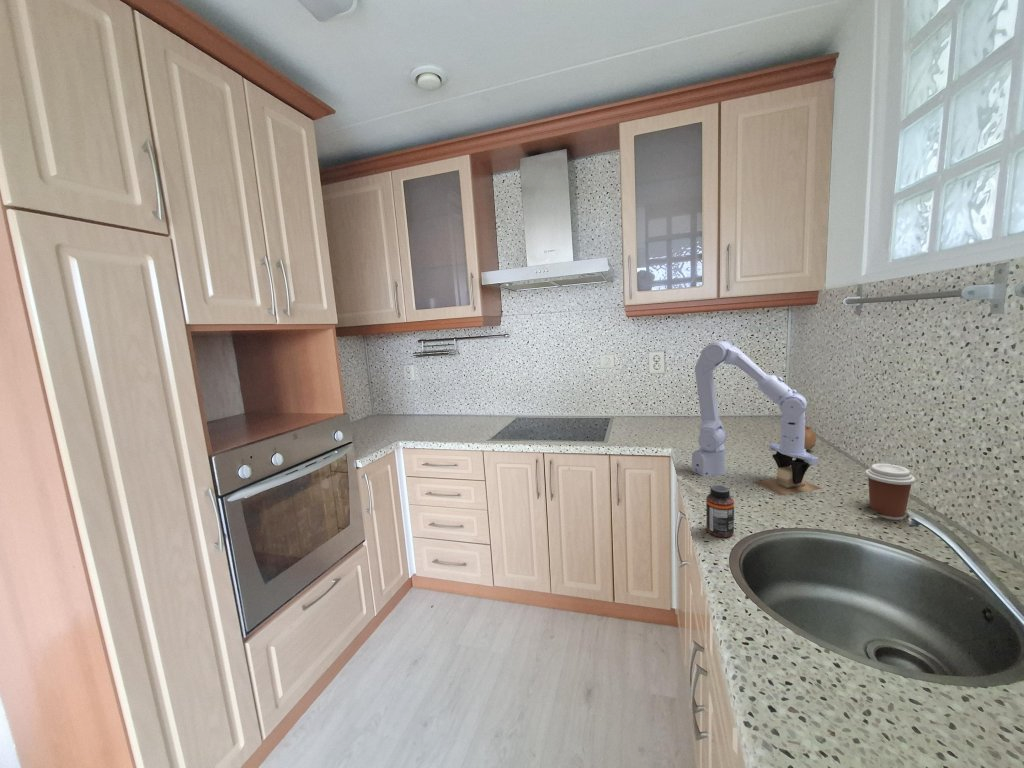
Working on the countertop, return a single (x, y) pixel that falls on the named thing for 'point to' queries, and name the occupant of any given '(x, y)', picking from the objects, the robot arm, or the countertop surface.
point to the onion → (809, 438)
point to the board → (780, 490)
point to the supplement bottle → (720, 512)
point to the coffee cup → (889, 490)
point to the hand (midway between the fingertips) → (790, 480)
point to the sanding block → (787, 478)
